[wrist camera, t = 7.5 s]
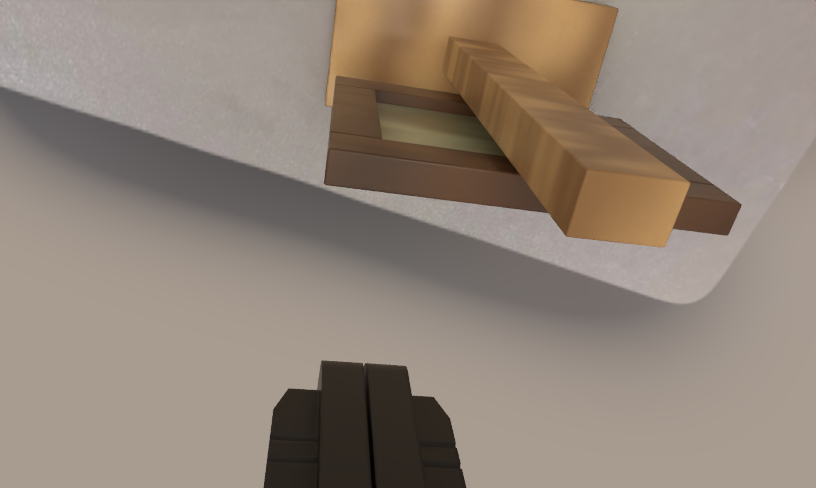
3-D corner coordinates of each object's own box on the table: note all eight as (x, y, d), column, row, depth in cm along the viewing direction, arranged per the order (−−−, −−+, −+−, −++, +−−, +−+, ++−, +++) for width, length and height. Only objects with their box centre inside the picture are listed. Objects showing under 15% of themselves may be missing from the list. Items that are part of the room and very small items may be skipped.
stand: (325, 100, 37) (314, 309, 17) (341, -43, 34) (351, 3, 13) (570, 134, 40) (816, 350, 20) (609, 5, 36) (956, 106, 16)
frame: (332, 101, 32) (324, 185, 22) (335, 74, 32) (328, 148, 21) (613, 142, 35) (728, 236, 24) (621, 118, 34) (742, 204, 24)
